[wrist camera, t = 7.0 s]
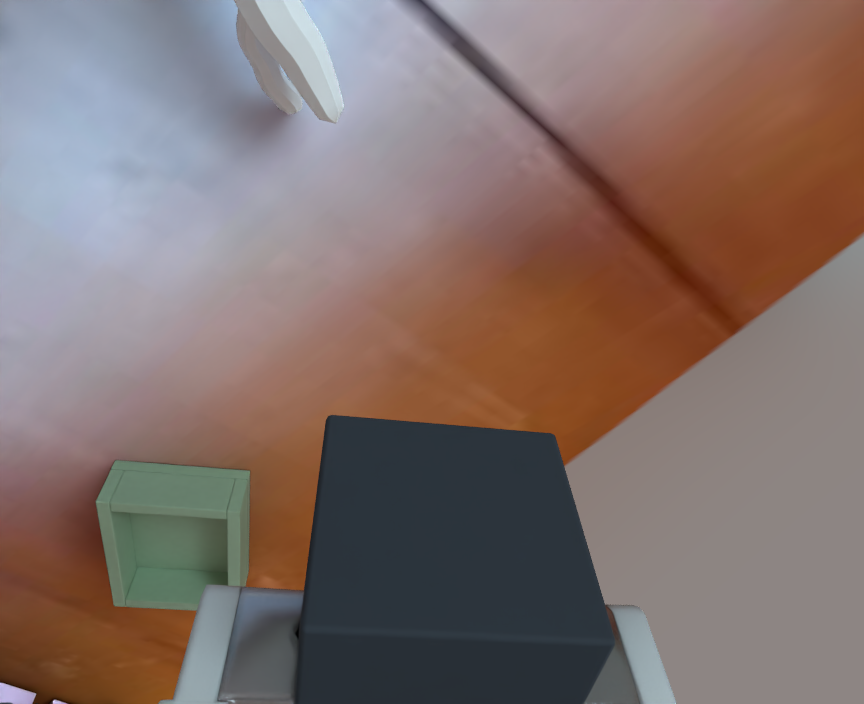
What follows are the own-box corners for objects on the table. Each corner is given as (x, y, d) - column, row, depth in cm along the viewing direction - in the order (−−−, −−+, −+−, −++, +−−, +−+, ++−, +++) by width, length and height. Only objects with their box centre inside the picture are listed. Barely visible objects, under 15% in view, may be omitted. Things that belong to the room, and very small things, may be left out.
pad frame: (130, 563, 35) (113, 607, 33) (114, 459, 31) (94, 501, 29) (248, 570, 36) (240, 613, 34) (250, 470, 32) (240, 511, 30)
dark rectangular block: (310, 613, 13) (286, 828, 10) (327, 412, 10) (299, 629, 7) (491, 622, 13) (518, 829, 10) (556, 431, 10) (619, 644, 7)
